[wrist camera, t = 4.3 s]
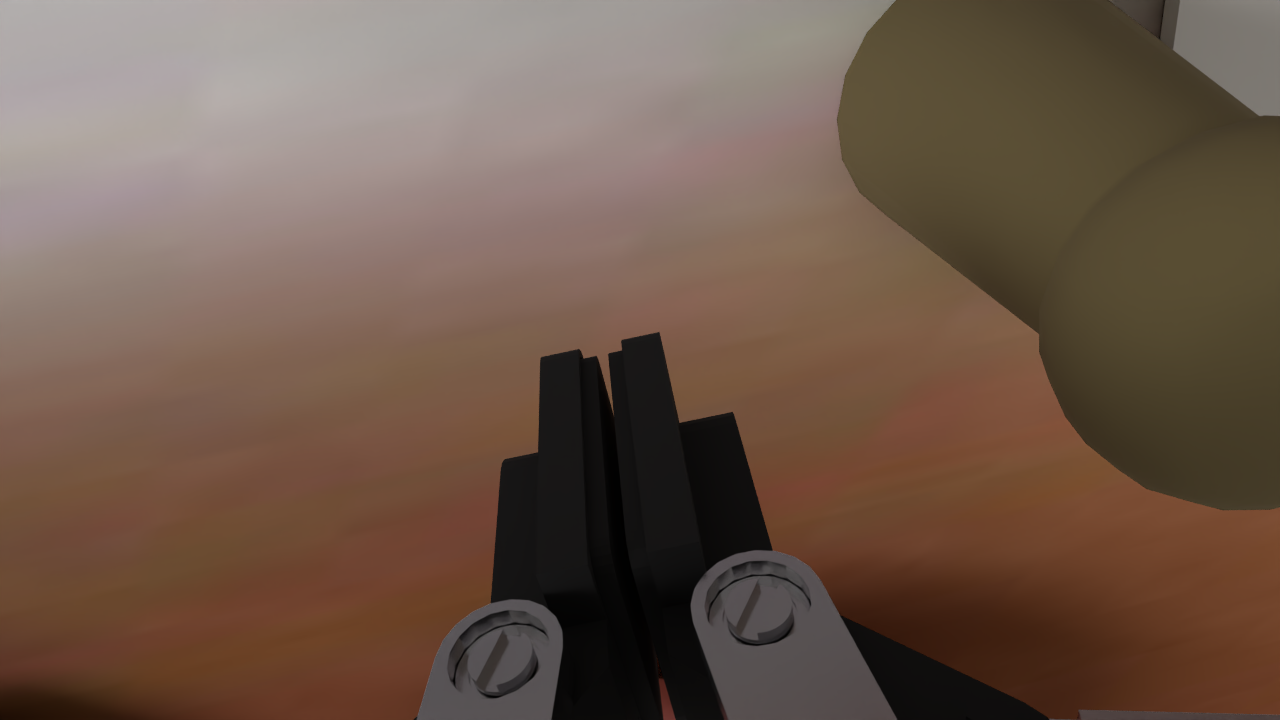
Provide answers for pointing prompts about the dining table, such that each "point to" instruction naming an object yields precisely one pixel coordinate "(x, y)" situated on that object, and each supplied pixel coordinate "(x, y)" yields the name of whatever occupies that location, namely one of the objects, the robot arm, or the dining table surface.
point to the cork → (1093, 220)
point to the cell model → (665, 702)
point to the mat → (1230, 46)
